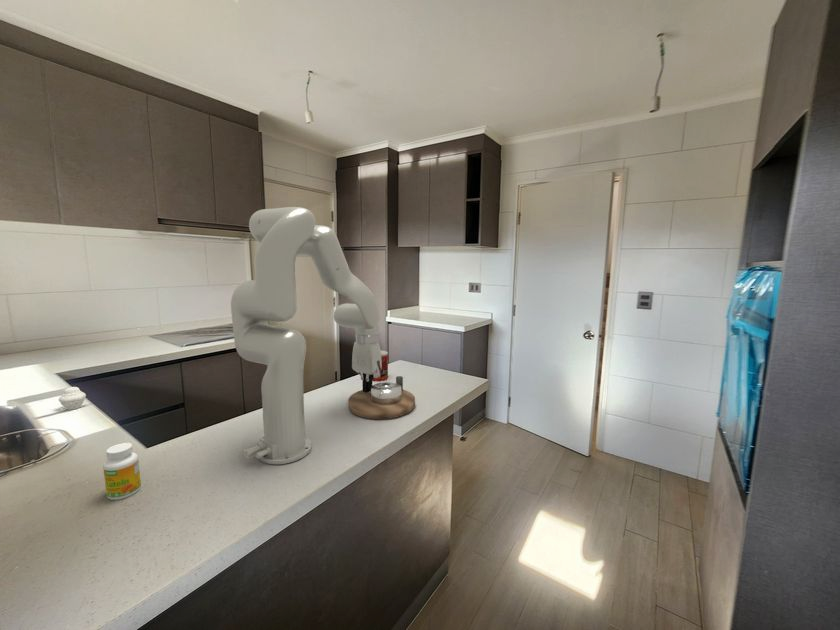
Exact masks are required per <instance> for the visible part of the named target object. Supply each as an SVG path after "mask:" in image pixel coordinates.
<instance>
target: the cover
mask: <svg viewBox="0 0 840 630" xmlns="http://www.w3.org/2000/svg"><path fill="white" fill-rule="evenodd" d="M371 401H372V402H373V403H376V404H380V405H391V404H396V403H398V402H400V401H401V386H400V385H399V384H396V382H388V381H385V382H384V381H382V382H378V383H377V382H376V383H374V384H372V387H371Z"/></svg>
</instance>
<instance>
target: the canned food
mask: <svg viewBox="0 0 840 630" xmlns="http://www.w3.org/2000/svg"><path fill="white" fill-rule="evenodd" d="M380 350H381V349H380ZM381 360H382V367H381V371H380V377H377V378H374V380H372V382H384V381H386V380H387V379H388V378H389V352H388V351H387V350H381Z"/></svg>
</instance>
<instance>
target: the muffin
mask: <svg viewBox="0 0 840 630" xmlns="http://www.w3.org/2000/svg"><path fill="white" fill-rule="evenodd" d="M86 397H87V394H86V393H85V392H83V391H81V390H80V388H79V387H77V386H70V387H67V388H64V391H63V393H62V395H60V396H59V398H58V402H59V403H60V405H62V407H64V409H66V410H68V411H69V410H70V411H71V410H77V409H79V408H81V407H82V405H83V403H84V401H85V400H86Z"/></svg>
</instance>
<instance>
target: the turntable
mask: <svg viewBox="0 0 840 630" xmlns="http://www.w3.org/2000/svg"><path fill="white" fill-rule="evenodd" d="M395 383H396V384H399V385H400V386H401V401H400V402H398V403H396V404H391V405H380V404H376V403H373V402H372V401H371V391H370V392H367V393H365V392H363V389H362V390H358V391H356V392H354V393H353V394H351V395H350V396H349V397H348V400H347V404H348V405H347V406H348V410H349V411H350V412H351V413H353V414H354V415H356V416H358V417H362V418H366V419H375V420H376V419H377V420H380V419H381V420H384V419H393V418H398V417H401V416H404V415H406V414H409V413H410V412H411V411H413V409H414V408H415V406H416V397H415V395H414V394H413V393H412V392H410V391H408V390H406V389H403V388H404V387H403V385H404V384H403V383H404V376H401V375H400V376H399V375H398V376H396V377H395Z"/></svg>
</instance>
